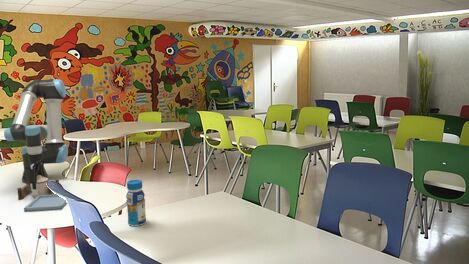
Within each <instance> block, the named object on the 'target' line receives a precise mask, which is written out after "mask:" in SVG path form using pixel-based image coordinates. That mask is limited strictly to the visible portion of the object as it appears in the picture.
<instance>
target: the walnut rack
mask: <svg viewBox="0 0 469 264" xmlns="http://www.w3.org/2000/svg"><path fill="white" fill-rule="evenodd" d="M55 181H56V182H58V183H59V184H60V180H59V179H55V180H54V182H55ZM16 189H17V196H18V201H19V200H20V201H21V200H23V199H24V198H26V197H27V196H28V195H29V194H30V193H32V184H30V181H27V182H26V183H25V185H24V186H23V187H18V188H16ZM53 194H54V193H53V192H52V191H51V190H50V189H49V188H48V195H53Z"/></svg>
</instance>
